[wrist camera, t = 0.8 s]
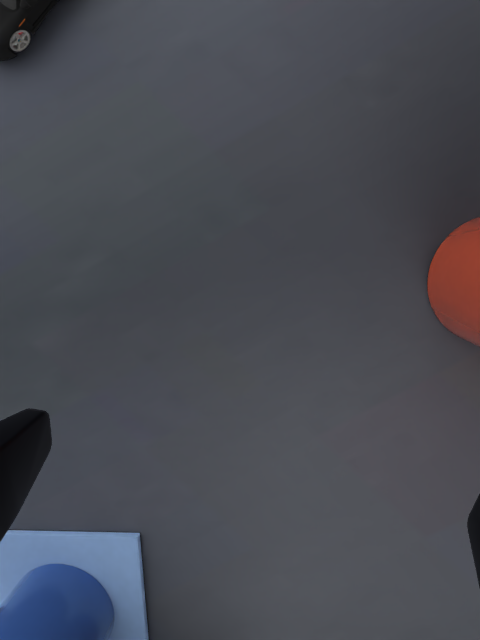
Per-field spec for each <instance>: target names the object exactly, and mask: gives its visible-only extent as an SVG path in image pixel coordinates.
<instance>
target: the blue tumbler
mask: <svg viewBox="0 0 480 640" xmlns="http://www.w3.org/2000/svg"><path fill="white" fill-rule="evenodd" d="M113 627H114V608H113V604H112V601H111V599H110V597H109V595H108V593H107V591H106V590H105V588H104V587H103V586H102V585H101V583H100V582H99V581H98V580H96V579H95V578H94V577H93V576H92V575H90V574H89V573H87V572H85V571H84V570H81V569H79V568H77V567H74V566H71V565H66V564H47V565H42V566H39V567H37V568H35V569H32V570H31V571H29V572H28V573H27V574H25V575H24V576H23V577H22V578H21V580H20V581H19V582H18V583H17V585H16V586H15V587H14V588H13V590H12V591H11V592H10V593H9V595H8V596H7V597H6V599H5V600H4V601H3V602H2V604H1V605H0V640H109V638H110V635H111V633H112V630H113Z"/></svg>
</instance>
